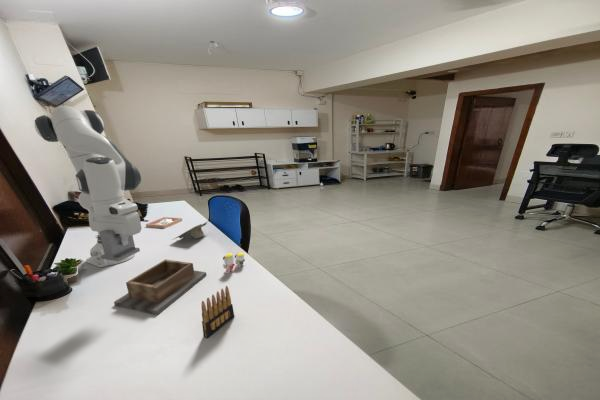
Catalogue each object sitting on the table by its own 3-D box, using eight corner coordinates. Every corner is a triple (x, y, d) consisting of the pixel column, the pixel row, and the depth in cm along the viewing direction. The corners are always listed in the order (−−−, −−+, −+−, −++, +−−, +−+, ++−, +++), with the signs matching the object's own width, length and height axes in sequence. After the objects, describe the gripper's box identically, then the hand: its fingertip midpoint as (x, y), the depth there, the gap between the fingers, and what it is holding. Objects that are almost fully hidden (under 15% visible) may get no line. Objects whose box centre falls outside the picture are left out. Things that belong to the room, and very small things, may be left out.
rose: (174, 216, 185) (171, 220, 176) (175, 221, 186) (172, 226, 177) (159, 217, 183) (155, 221, 173) (160, 223, 184) (156, 228, 175)
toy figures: (241, 262, 121) (239, 246, 119) (247, 264, 118) (245, 248, 116) (220, 273, 111) (217, 256, 109) (226, 276, 109) (224, 258, 107)
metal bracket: (101, 258, 87) (94, 231, 85) (123, 248, 94) (118, 223, 92) (118, 261, 85) (111, 233, 82) (139, 251, 92) (134, 225, 90)
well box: (114, 305, 92) (110, 287, 90) (169, 269, 116) (167, 254, 114) (157, 314, 86) (153, 295, 84) (206, 275, 110) (204, 259, 108)
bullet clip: (230, 315, 85) (226, 283, 82) (234, 317, 84) (230, 285, 81) (203, 336, 76) (197, 301, 73) (207, 338, 75) (201, 303, 72)
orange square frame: (146, 226, 177) (145, 224, 176) (164, 219, 192) (164, 216, 191) (164, 228, 172) (164, 225, 171) (182, 220, 187) (181, 218, 186)
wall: (181, 253, 144) (201, 234, 141) (170, 240, 144) (189, 220, 141) (199, 244, 162) (216, 227, 159) (189, 233, 162) (206, 215, 159)
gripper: (78, 207, 85) (88, 245, 89) (123, 210, 79) (132, 251, 83) (98, 202, 91) (107, 238, 95) (141, 205, 85) (148, 243, 88)
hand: (119, 244), depth 89 cm, fingers closed on metal bracket, 4 cm apart
